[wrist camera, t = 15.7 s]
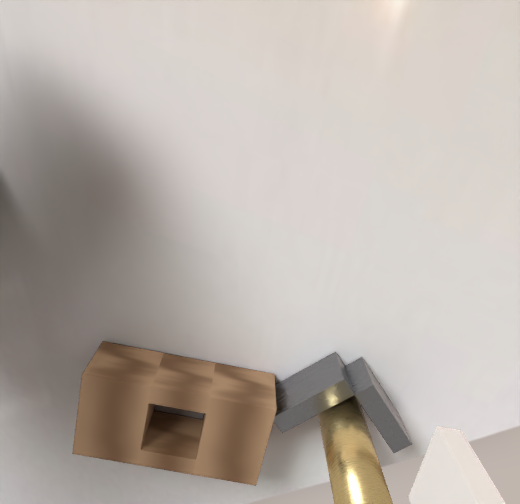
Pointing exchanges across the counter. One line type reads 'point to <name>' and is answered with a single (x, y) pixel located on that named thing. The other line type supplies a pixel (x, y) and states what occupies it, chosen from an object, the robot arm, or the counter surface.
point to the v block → (338, 397)
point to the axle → (351, 456)
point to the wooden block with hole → (169, 425)
